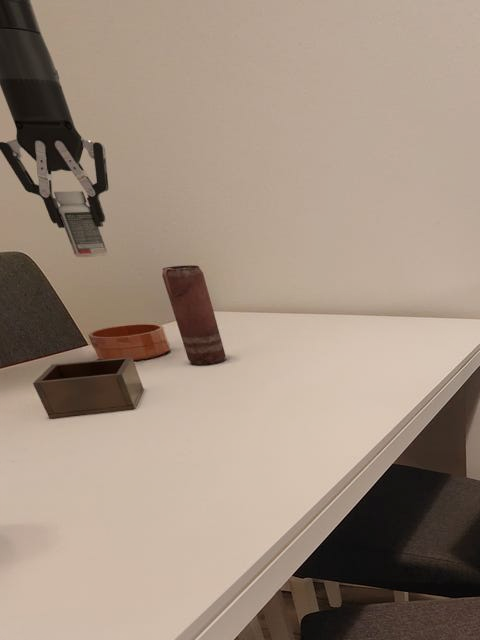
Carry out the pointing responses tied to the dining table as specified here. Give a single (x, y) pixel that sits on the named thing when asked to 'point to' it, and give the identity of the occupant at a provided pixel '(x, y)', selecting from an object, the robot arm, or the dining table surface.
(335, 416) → the dining table surface
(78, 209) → the pill bottle
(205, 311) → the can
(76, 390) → the holder
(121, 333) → the bowl
